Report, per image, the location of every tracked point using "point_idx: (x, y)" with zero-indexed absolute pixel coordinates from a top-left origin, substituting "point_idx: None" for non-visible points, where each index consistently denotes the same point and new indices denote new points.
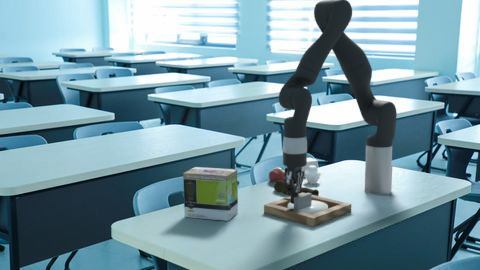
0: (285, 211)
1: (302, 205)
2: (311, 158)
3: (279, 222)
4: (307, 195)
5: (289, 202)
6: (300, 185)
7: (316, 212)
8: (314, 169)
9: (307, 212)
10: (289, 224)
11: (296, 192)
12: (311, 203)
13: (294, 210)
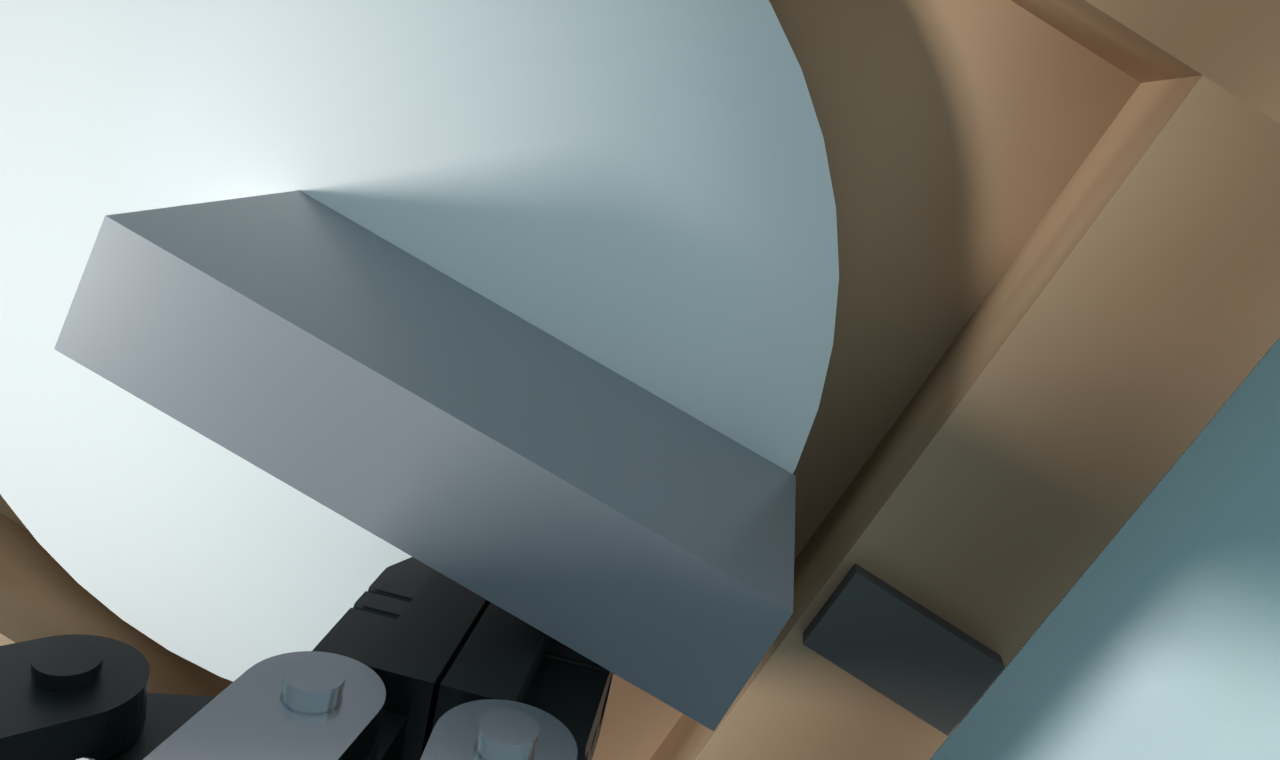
0: (934, 736)
1: (610, 398)
2: None
3: (1131, 738)
4: (318, 331)
5: (154, 680)
6: (82, 714)
7: (768, 3)
8: None
9: (836, 230)
10: (1245, 546)
11: (566, 741)
12: (152, 205)
13: (887, 552)
